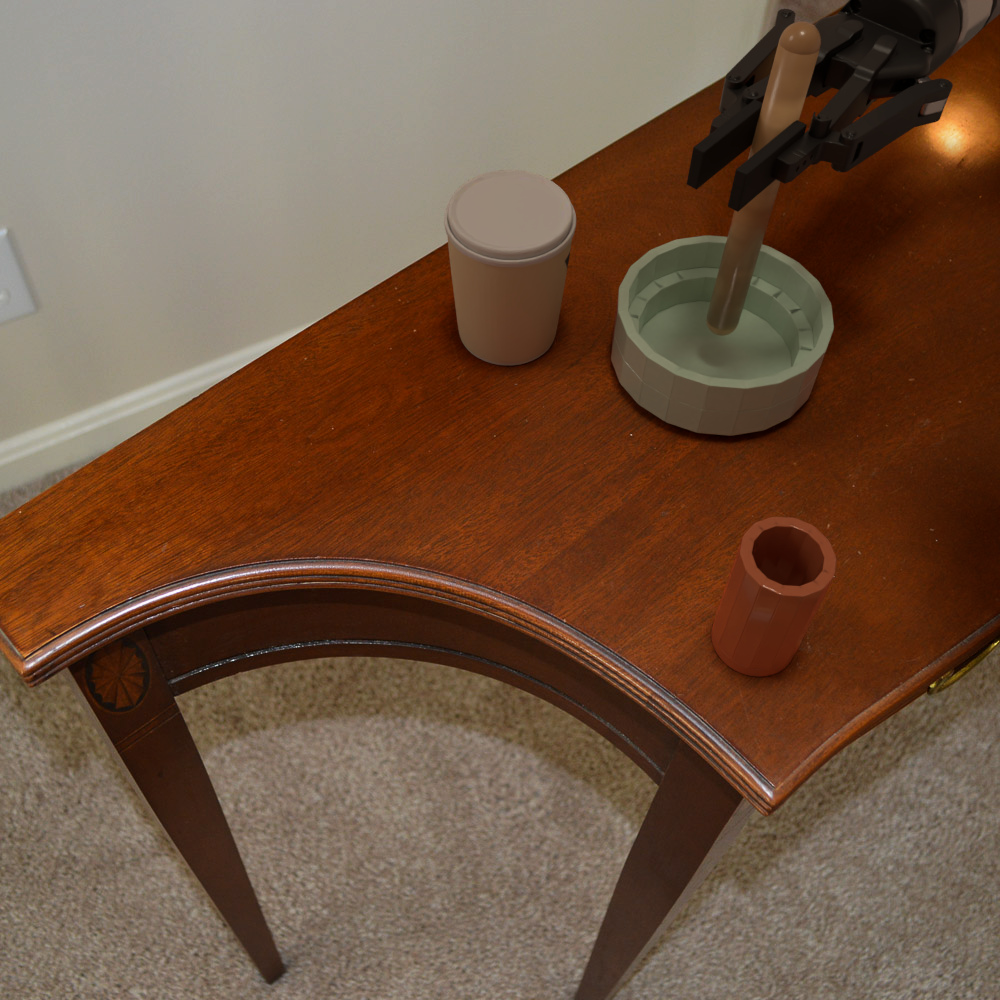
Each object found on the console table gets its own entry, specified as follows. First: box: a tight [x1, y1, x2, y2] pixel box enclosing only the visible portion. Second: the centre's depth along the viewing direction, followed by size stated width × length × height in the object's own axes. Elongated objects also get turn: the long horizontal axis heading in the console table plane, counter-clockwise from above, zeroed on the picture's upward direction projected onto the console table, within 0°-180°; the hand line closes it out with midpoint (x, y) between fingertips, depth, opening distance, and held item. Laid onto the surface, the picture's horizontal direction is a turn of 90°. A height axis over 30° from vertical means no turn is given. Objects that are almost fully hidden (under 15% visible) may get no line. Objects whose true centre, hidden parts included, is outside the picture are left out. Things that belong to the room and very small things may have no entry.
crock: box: [710, 516, 837, 678], centre depth 66 cm, size 5×6×10 cm
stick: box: [706, 21, 821, 336], centre depth 72 cm, size 2×2×24 cm
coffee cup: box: [443, 169, 577, 367], centre depth 81 cm, size 9×9×12 cm
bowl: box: [610, 234, 835, 437], centre depth 82 cm, size 16×16×6 cm
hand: (716, 179), depth 65 cm, fingers closed on stick, 2 cm apart
